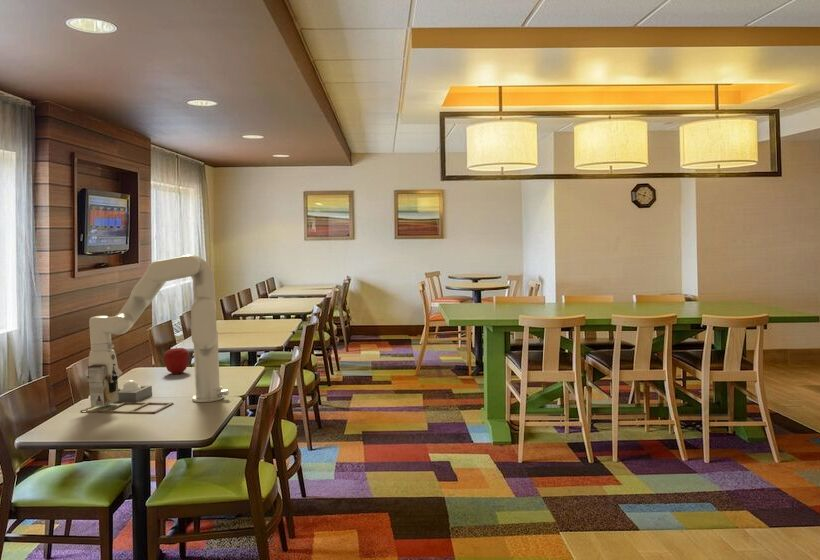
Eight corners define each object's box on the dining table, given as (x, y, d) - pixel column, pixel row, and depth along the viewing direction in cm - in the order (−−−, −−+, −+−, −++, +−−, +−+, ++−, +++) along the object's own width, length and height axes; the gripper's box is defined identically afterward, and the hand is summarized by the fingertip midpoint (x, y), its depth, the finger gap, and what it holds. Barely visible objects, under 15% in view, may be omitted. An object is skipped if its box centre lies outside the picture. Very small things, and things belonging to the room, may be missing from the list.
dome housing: (152, 395, 279) (151, 385, 279) (136, 402, 268) (135, 392, 267) (126, 394, 281) (125, 385, 281) (109, 401, 269) (108, 392, 269)
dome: (145, 392, 278) (144, 378, 277) (134, 396, 270) (133, 382, 269) (127, 391, 279) (126, 377, 278) (116, 396, 271) (115, 382, 271)
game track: (173, 404, 263) (173, 402, 263) (154, 413, 249) (154, 412, 249) (103, 402, 268) (102, 401, 268) (80, 412, 254) (80, 410, 254)
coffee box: (105, 400, 265) (102, 361, 264) (119, 400, 264) (116, 361, 263) (90, 406, 256) (87, 366, 255) (104, 406, 255) (101, 366, 254)
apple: (184, 369, 332) (183, 343, 331) (193, 373, 323) (192, 346, 322) (160, 373, 324) (159, 346, 323) (169, 377, 315) (167, 349, 314)
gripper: (127, 345, 261) (129, 389, 262) (87, 345, 263) (90, 389, 265) (115, 348, 253) (118, 394, 254) (75, 349, 256) (78, 394, 257)
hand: (104, 391), depth 260 cm, fingers closed on coffee box, 6 cm apart
